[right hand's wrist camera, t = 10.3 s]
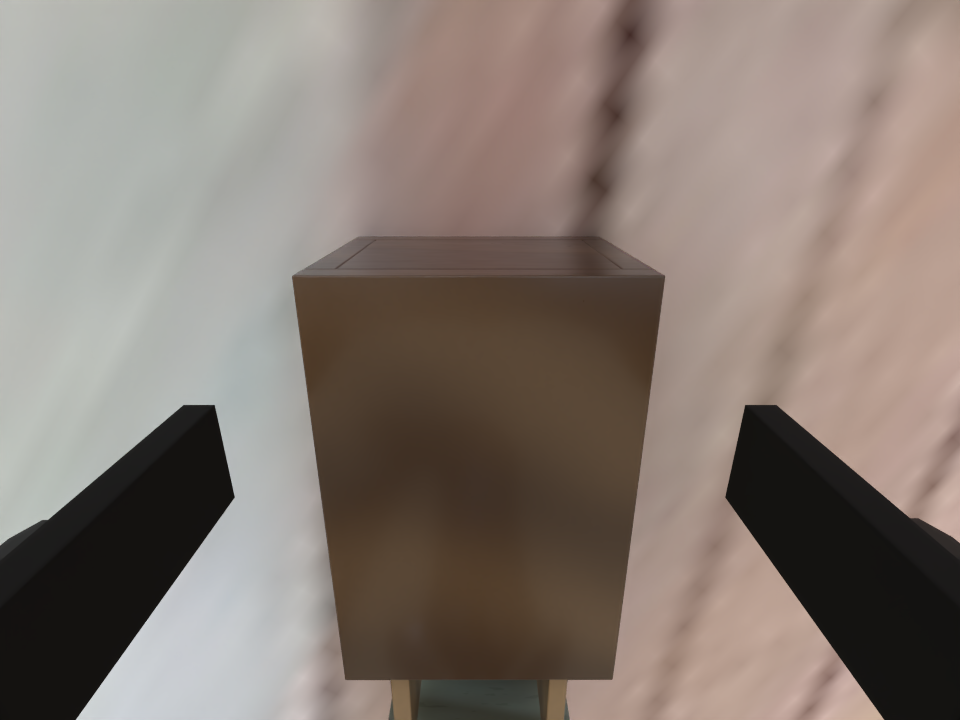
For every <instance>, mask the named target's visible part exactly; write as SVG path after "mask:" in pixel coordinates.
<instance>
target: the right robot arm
mask: <svg viewBox="0 0 960 720" xmlns="http://www.w3.org/2000/svg"><path fill="white" fill-rule="evenodd" d="M234 498H235V497H234V492H233V487H232V483H231V478H230V474H229V469H228V464H227V460H226V455H225V451H224V446H223V441H222V437H221V432H220V428H219V423H218V418H217V414H216V409H215V405H183V406H182V407H181V408H180V409H179V410H177V411H176V412H175V413H174V414H173V415H171V416H170V417H169V418H168V419H167V420H166V421H164V422H163V423H162V424H161V425H160V426H158V427H157V428H156V429H155V430H154V431H153V432H151V433H150V434H149V435H148V436H147V437H145V438H144V439H143V440H142V441H141V442H140V443H138V444H137V445H136V446H135V447H134V448H133V449H131V450H130V451H129V452H128V453H127V454H125V455H124V456H123V457H122V458H121V459H120V460H118V461H117V462H116V463H115V464H114V465H112V466H111V467H110V468H109V469H108V470H107V471H105V472H104V473H103V474H102V475H101V476H99V477H98V478H97V479H96V480H95V481H94V482H92V483H91V484H90V485H89V486H88V487H86V488H85V489H84V490H83V491H82V492H81V493H79V494H78V495H77V496H76V497H75V498H73V499H72V500H71V501H70V502H69V503H68V504H66V505H65V506H64V507H63V508H62V509H61V510H59V511H58V512H57V513H56V514H55V515H53V516H52V517H51V518H50V519H49V520H42V521H40V522H38V523H36V524H35V525H33V526H31V527H29V528H27V529H26V530H24V531H22V532H20V533H18V534H17V535H15V536H13V537H11V538H9V539H8V540H7V541H5V542H4V543H3V544H2V545H1V546H0V720H76V719H77V717H78V716H79V714H80V713H81V712H82V710H83V709H84V707H85V706H86V705H87V703H88V702H89V700H90V699H91V698H92V696H93V695H94V693H95V692H96V691H97V689H98V688H99V686H100V685H101V684H102V682H103V681H104V679H105V678H106V677H107V675H108V674H109V672H110V671H111V670H112V668H113V667H114V665H115V664H116V663H117V661H118V660H119V658H120V657H121V656H122V654H123V653H124V651H125V650H126V649H127V647H128V646H129V644H130V643H131V642H132V640H133V639H134V637H135V636H136V635H137V633H138V632H139V630H140V629H141V628H142V626H143V625H144V623H145V622H146V621H147V619H148V618H149V616H150V615H151V614H152V612H153V611H154V609H155V608H156V607H157V605H158V604H159V602H160V601H161V600H162V598H163V597H164V595H165V594H166V593H167V591H168V590H169V588H170V587H171V586H172V584H173V583H174V582H175V580H176V579H177V577H178V576H179V575H180V573H181V572H182V570H183V569H184V568H185V566H186V565H187V563H188V562H189V561H190V559H191V558H192V556H193V555H194V554H195V552H196V551H197V549H198V548H199V547H200V545H201V544H202V542H203V541H204V540H205V538H206V537H207V535H208V534H209V533H210V531H211V530H212V528H213V527H214V526H215V524H216V523H217V521H218V520H219V519H220V517H221V516H222V514H223V513H224V512H225V510H226V509H227V507H228V506H229V505H230V503H231V502H232V500H233V499H234ZM725 498H726V499H727V500H728V502H729V503H730V505H731V506H732V507H733V509H734V510H735V512H736V513H737V514H738V516H739V517H740V519H741V520H742V521H743V523H744V524H745V526H746V527H747V528H748V530H749V531H750V533H751V534H752V535H753V537H754V538H755V540H756V541H757V542H758V544H759V545H760V547H761V548H762V549H763V551H764V552H765V554H766V555H767V556H768V558H769V559H770V561H771V562H772V563H773V565H774V566H775V568H776V569H777V570H778V572H779V573H780V575H781V576H782V577H783V579H784V580H785V582H786V583H787V584H788V586H789V587H790V588H791V590H792V591H793V593H794V594H795V595H796V597H797V598H798V600H799V601H800V602H801V604H802V605H803V607H804V608H805V609H806V611H807V612H808V614H809V615H810V616H811V618H812V619H813V621H814V622H815V623H816V625H817V626H818V628H819V629H820V630H821V632H822V633H823V635H824V636H825V637H826V639H827V640H828V642H829V643H830V644H831V646H832V647H833V649H834V650H835V651H836V653H837V654H838V656H839V657H840V658H841V660H842V661H843V663H844V664H845V665H846V667H847V668H848V670H849V671H850V672H851V674H852V675H853V677H854V678H855V679H856V681H857V682H858V684H859V685H860V686H861V688H862V689H863V691H864V692H865V693H866V695H867V696H868V698H869V699H870V700H871V702H872V703H873V705H874V706H875V707H876V709H877V710H878V712H879V713H880V714H881V716H882V717H883V719H884V720H960V543H959V542H958V541H956V540H955V539H954V538H953V537H951V536H949V535H947V534H946V533H944V532H942V531H940V530H938V529H937V528H935V527H933V526H931V525H929V524H928V523H926V522H924V521H922V520H920V519H919V518H909V517H908V516H907V515H905V514H904V513H903V512H902V511H901V510H899V509H898V508H897V507H896V506H895V505H894V504H892V503H891V502H890V501H889V500H888V499H887V498H885V497H884V496H883V495H882V494H881V493H879V492H878V491H877V490H876V489H875V488H874V487H872V486H871V485H870V484H869V483H868V482H866V481H865V480H864V479H863V478H862V477H861V476H859V475H858V474H857V473H856V472H855V471H853V470H852V469H851V468H850V467H849V466H848V465H846V464H845V463H844V462H843V461H842V460H840V459H839V458H838V457H837V456H836V455H835V454H833V453H832V452H831V451H830V450H829V449H827V448H826V447H825V446H824V445H823V444H822V443H820V442H819V441H818V440H817V439H816V438H815V437H813V436H812V435H811V434H810V433H809V432H807V431H806V430H805V429H804V428H803V427H802V426H800V425H799V424H798V423H797V422H796V421H794V420H793V419H792V418H791V417H790V416H789V415H787V414H786V413H785V412H784V411H783V410H781V409H780V408H779V407H778V406H777V405H745V409H744V414H743V418H742V423H741V428H740V432H739V437H738V441H737V446H736V451H735V455H734V460H733V464H732V469H731V474H730V478H729V483H728V487H727V492H726V497H725Z"/></svg>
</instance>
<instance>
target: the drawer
mask: <svg viewBox="0 0 960 720" xmlns="http://www.w3.org/2000/svg"><path fill="white" fill-rule="evenodd" d="M391 690H392V702H391V708H390V714H389V720H570V718H569V712H568V706H567V700H566V690H567V680H391Z"/></svg>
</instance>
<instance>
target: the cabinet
mask: <svg viewBox="0 0 960 720" xmlns="http://www.w3.org/2000/svg"><path fill="white" fill-rule="evenodd" d="M292 279H293V287H294V295H295V302H296V310H297V317H298V325H299V332H300V340H301V348H302V355H303V363H304V370H305V378H306V385H307V393H308V401H309V408H310V416H311V423H312V431H313V438H314V446H315V454H316V461H317V469H318V476H319V484H320V491H321V499H322V507H323V514H324V522H325V529H326V537H327V544H328V552H329V560H330V567H331V575H332V582H333V590H334V597H335V605H336V613H337V620H338V628H339V635H340V643H341V650H342V658H343V666H344V673H345V680H612V679H613V672H614V665H615V657H616V649H617V642H618V634H619V626H620V619H621V611H622V603H623V596H624V588H625V580H626V573H627V565H628V557H629V550H630V542H631V534H632V527H633V519H634V511H635V504H636V496H637V488H638V481H639V473H640V465H641V458H642V450H643V442H644V435H645V427H646V419H647V412H648V404H649V396H650V389H651V381H652V373H653V366H654V358H655V350H656V343H657V335H658V327H659V320H660V312H661V304H662V297H663V289H664V281H665V276H664V275H663V274H661V273H659V272H658V271H656V270H654V269H653V268H651V267H649V266H648V265H646V264H644V263H643V262H641V261H639V260H638V259H636V258H634V257H633V256H631V255H629V254H628V253H626V252H624V251H623V250H621V249H619V248H617V247H616V246H614V245H612V244H611V243H609V242H607V241H606V240H604V239H602V238H600V237H357V238H356V239H354V240H352V241H350V242H349V243H347V244H345V245H344V246H342V247H340V248H339V249H337V250H335V251H334V252H332V253H330V254H329V255H327V256H325V257H324V258H322V259H320V260H319V261H317V262H315V263H314V264H312V265H310V266H309V267H307V268H305V269H303V270H301V271H300V272H298V273H296V274H295V275H293V276H292Z"/></svg>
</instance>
